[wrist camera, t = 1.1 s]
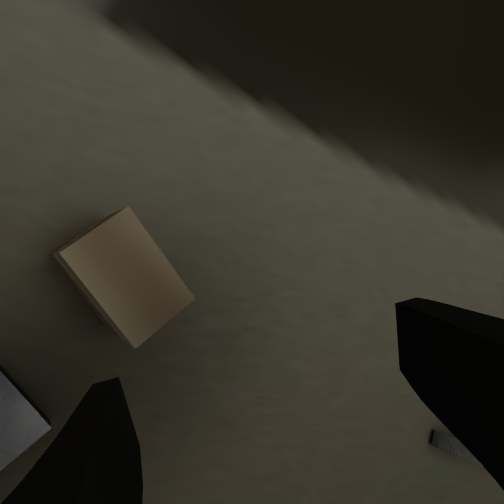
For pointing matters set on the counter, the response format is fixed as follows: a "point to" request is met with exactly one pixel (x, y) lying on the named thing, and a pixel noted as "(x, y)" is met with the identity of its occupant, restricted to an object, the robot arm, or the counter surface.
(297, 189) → the counter surface
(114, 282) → the cardboard box
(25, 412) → the black tray
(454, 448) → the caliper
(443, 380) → the robot arm
